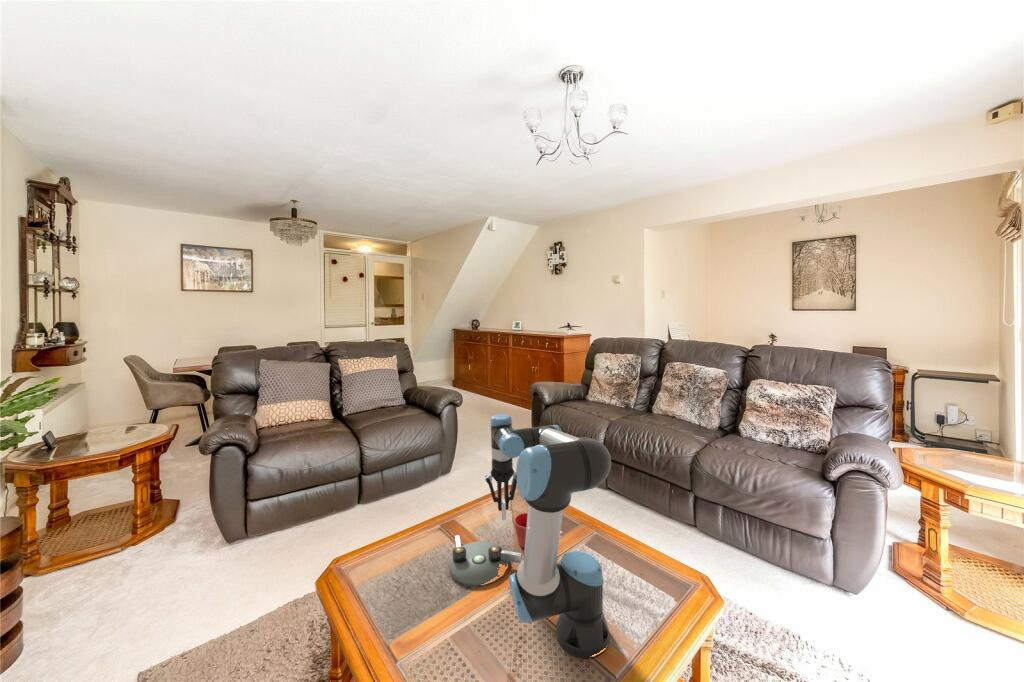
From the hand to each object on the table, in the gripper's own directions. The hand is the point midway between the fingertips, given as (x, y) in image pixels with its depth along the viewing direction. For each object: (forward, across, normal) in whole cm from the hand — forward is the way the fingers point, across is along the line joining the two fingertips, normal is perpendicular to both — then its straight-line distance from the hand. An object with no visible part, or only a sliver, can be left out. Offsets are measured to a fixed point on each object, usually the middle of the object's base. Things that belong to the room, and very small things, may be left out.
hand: (503, 517), depth 143 cm
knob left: (+15, +17, -6) cm, 23 cm away
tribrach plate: (+18, +10, 0) cm, 20 cm away
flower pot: (+18, -11, -9) cm, 23 cm away
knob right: (+15, 0, +2) cm, 15 cm away
